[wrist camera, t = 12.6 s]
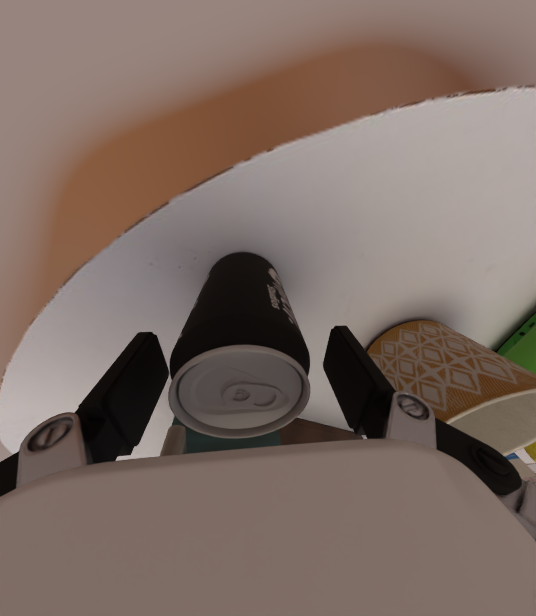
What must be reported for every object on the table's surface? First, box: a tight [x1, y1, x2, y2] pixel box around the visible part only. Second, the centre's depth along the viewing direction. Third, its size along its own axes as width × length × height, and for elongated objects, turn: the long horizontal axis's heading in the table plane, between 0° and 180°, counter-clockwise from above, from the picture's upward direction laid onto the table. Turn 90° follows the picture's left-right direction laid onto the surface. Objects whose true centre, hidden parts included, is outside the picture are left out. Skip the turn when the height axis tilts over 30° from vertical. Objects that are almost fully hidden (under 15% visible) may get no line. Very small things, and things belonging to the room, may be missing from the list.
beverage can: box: [168, 252, 310, 438], centre depth 13 cm, size 7×7×12 cm
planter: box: [367, 320, 536, 456], centre depth 21 cm, size 13×13×10 cm
